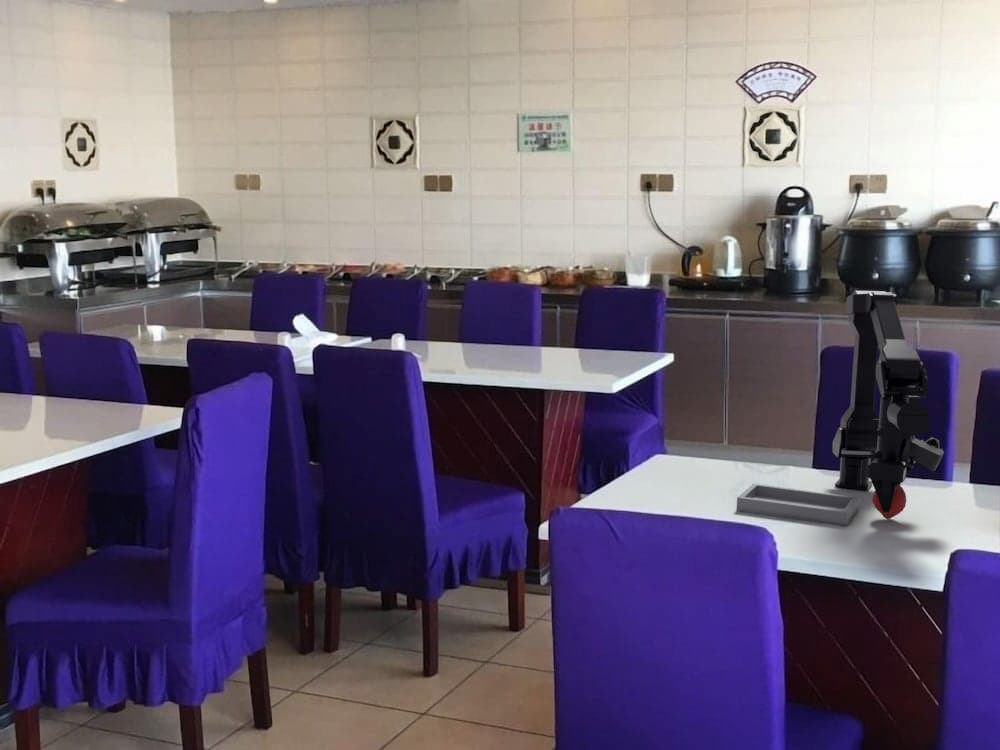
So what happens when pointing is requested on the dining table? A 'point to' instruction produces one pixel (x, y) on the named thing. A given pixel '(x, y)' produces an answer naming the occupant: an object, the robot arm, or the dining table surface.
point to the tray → (798, 504)
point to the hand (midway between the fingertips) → (888, 508)
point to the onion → (897, 503)
